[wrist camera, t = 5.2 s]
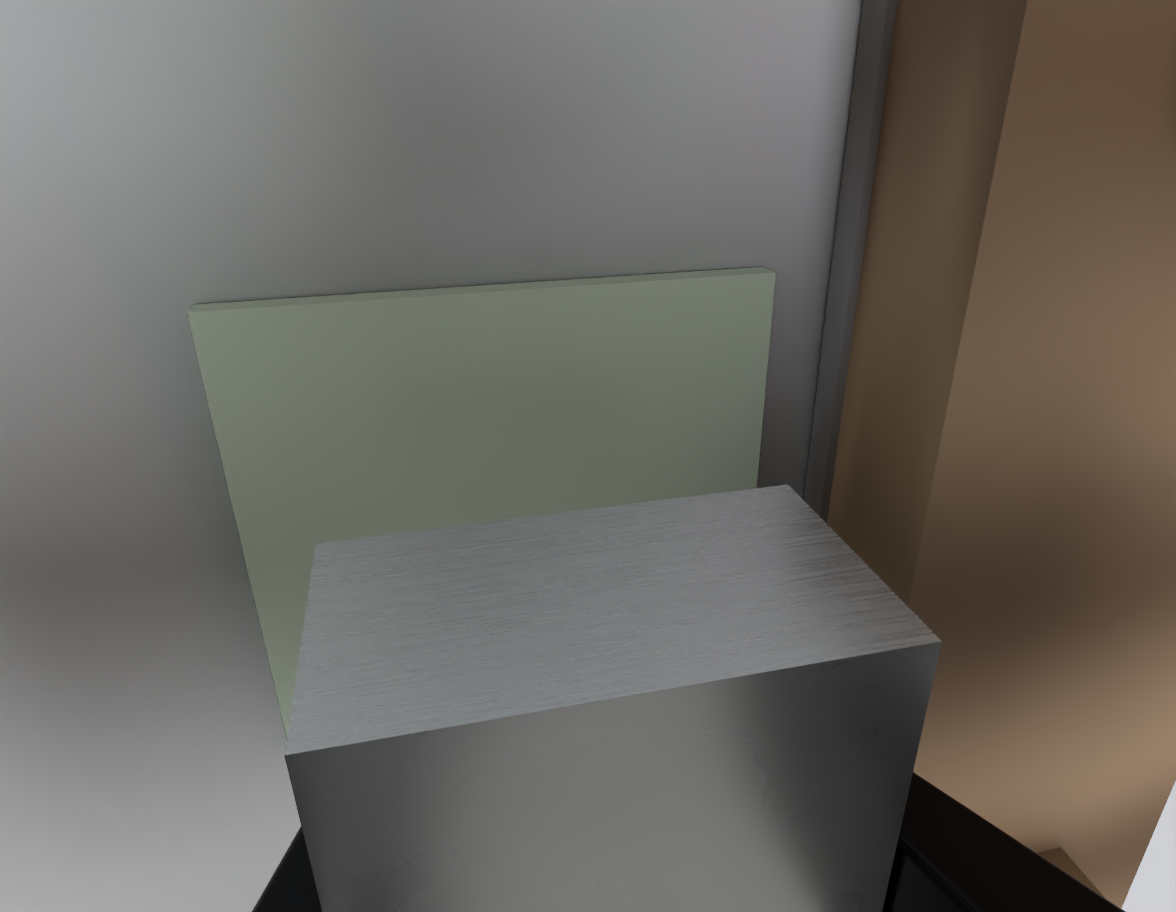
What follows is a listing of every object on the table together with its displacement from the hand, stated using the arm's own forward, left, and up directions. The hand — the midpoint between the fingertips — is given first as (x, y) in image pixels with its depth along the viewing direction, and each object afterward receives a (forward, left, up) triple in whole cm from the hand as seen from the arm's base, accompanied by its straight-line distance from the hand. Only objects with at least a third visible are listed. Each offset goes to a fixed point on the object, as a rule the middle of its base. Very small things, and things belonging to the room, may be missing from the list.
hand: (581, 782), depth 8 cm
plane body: (-1, -9, -5) cm, 10 cm away
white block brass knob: (0, 0, 0) cm, 0 cm away
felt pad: (0, 0, -5) cm, 5 cm away
